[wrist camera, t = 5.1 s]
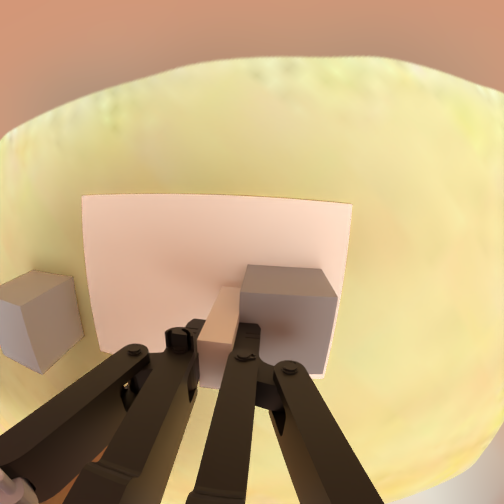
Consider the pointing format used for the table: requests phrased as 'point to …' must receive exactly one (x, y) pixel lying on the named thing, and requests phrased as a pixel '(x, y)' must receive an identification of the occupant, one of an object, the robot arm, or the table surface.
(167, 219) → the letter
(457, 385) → the table surface
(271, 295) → the grey cube
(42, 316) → the slate cube
